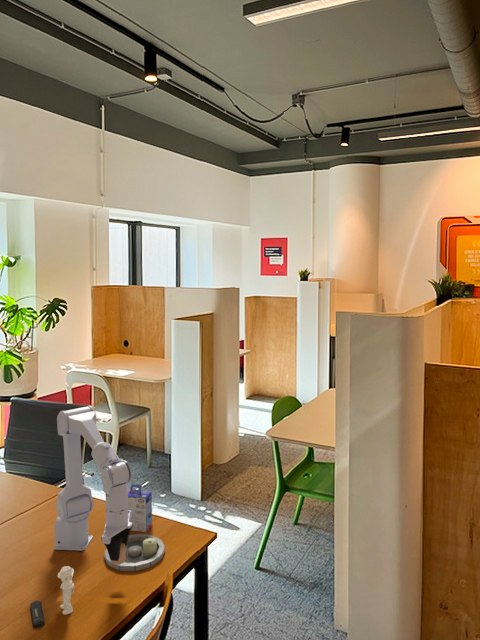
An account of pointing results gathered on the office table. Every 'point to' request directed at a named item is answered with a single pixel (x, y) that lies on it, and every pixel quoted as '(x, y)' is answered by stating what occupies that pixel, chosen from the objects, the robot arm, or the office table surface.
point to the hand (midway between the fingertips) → (118, 555)
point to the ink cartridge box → (140, 508)
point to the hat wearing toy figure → (66, 588)
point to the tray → (137, 554)
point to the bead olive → (149, 547)
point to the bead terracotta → (121, 555)
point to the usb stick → (37, 614)
